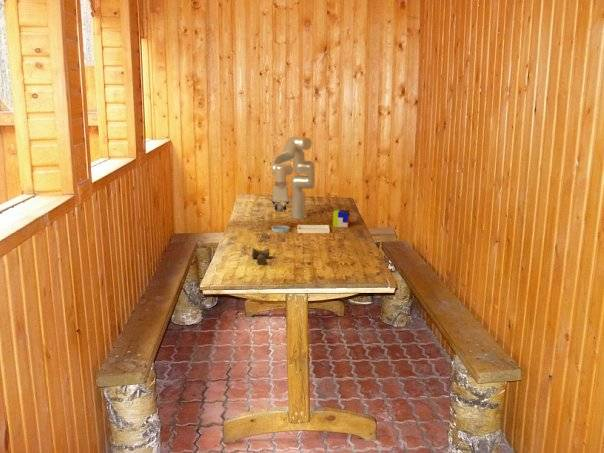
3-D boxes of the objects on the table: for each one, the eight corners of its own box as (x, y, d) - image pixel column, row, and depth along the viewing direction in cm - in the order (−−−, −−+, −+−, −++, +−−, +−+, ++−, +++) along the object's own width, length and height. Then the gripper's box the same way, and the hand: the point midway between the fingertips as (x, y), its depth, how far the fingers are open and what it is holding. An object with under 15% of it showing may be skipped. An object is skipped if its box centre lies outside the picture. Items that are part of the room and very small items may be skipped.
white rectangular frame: (297, 228, 404) (297, 224, 404) (328, 228, 404) (328, 225, 404) (297, 233, 391) (297, 229, 391) (329, 233, 392) (329, 229, 391)
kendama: (252, 266, 319) (251, 255, 338) (270, 266, 320) (268, 255, 339) (252, 255, 317) (252, 245, 337) (270, 255, 318) (268, 245, 338)
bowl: (272, 228, 404) (272, 225, 403) (289, 228, 404) (289, 225, 403) (271, 232, 392) (271, 229, 391) (289, 232, 392) (289, 229, 392)
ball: (277, 211, 397) (276, 203, 396) (284, 211, 397) (284, 203, 396) (276, 212, 392) (276, 205, 391) (284, 212, 392) (284, 205, 391)
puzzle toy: (347, 227, 409) (347, 213, 407) (333, 226, 411) (333, 212, 409) (349, 224, 419) (349, 210, 416) (335, 223, 420) (335, 209, 418)
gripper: (293, 183, 394) (293, 210, 398) (267, 183, 394) (268, 209, 398) (293, 185, 387) (293, 212, 391) (267, 184, 387) (267, 212, 391)
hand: (280, 210), depth 395 cm, fingers closed on ball, 4 cm apart
